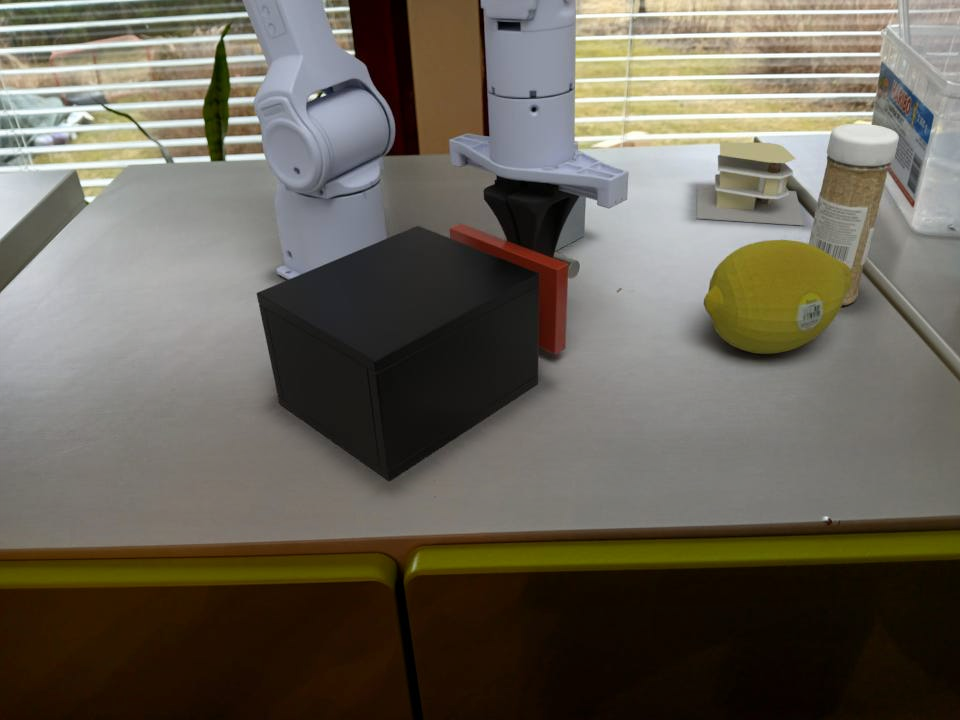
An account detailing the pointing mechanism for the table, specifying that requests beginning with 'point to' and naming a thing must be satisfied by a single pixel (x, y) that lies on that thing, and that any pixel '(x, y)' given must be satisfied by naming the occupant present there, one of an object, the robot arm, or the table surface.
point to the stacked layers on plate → (751, 186)
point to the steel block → (573, 224)
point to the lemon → (776, 295)
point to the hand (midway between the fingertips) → (534, 275)
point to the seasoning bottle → (852, 195)
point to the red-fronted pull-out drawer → (550, 282)
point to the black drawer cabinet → (402, 344)
